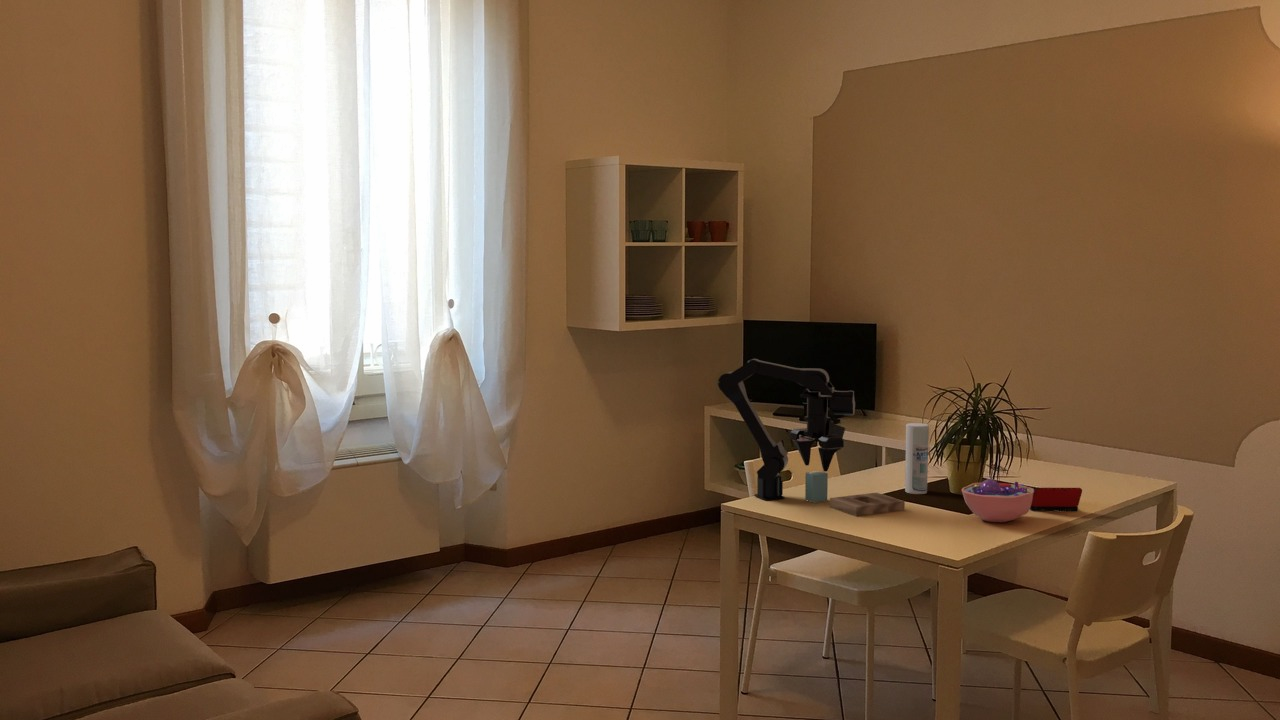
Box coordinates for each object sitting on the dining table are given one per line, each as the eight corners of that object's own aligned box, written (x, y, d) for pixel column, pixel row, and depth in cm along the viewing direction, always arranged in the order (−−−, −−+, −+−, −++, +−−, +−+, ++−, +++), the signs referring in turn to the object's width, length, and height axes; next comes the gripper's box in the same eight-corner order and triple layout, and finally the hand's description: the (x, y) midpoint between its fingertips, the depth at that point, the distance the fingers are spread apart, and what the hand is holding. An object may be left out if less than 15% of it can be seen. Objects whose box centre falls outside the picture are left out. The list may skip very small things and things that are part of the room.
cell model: (1050, 522, 262) (1052, 479, 261) (997, 532, 252) (998, 487, 251) (998, 509, 276) (999, 468, 275) (945, 518, 266) (946, 475, 265)
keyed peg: (812, 502, 284) (812, 473, 284) (805, 500, 288) (805, 471, 287) (827, 501, 286) (827, 472, 286) (820, 498, 290) (820, 469, 289)
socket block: (856, 516, 269) (856, 507, 268) (829, 506, 279) (829, 497, 279) (904, 510, 275) (904, 501, 275) (876, 501, 286) (877, 492, 286)
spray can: (917, 488, 302) (918, 422, 300) (932, 492, 296) (933, 425, 295) (900, 490, 299) (901, 423, 298) (914, 495, 294) (916, 426, 292)
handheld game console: (1068, 506, 280) (1069, 479, 280) (1082, 515, 270) (1083, 487, 269) (1022, 505, 281) (1023, 479, 281) (1034, 514, 271) (1035, 487, 270)
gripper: (860, 416, 280) (859, 472, 281) (822, 407, 297) (821, 460, 298) (827, 418, 275) (826, 475, 277) (789, 410, 292) (788, 463, 294)
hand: (816, 468), depth 286 cm, fingers open, 9 cm apart
